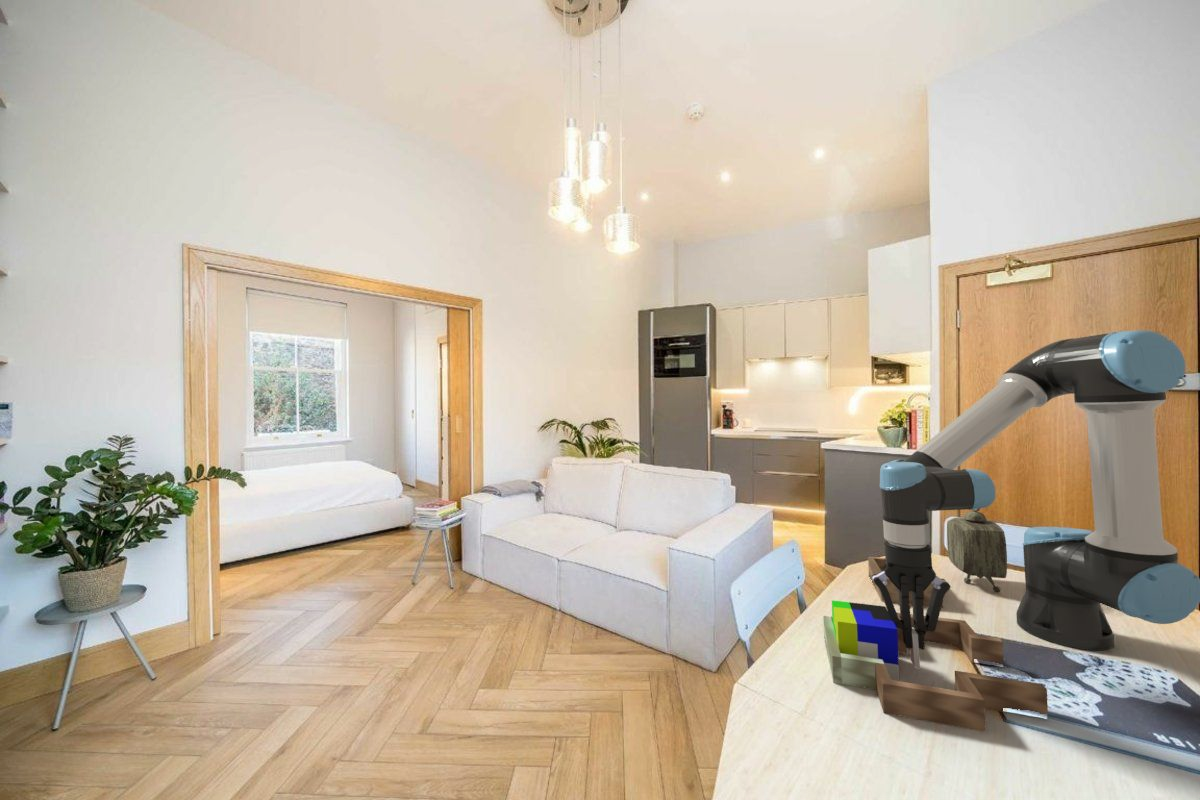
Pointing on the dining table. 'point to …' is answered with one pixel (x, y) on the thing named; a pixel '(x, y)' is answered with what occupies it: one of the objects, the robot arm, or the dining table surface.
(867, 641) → the puzzle toy
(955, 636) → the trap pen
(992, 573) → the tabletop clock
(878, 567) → the box
